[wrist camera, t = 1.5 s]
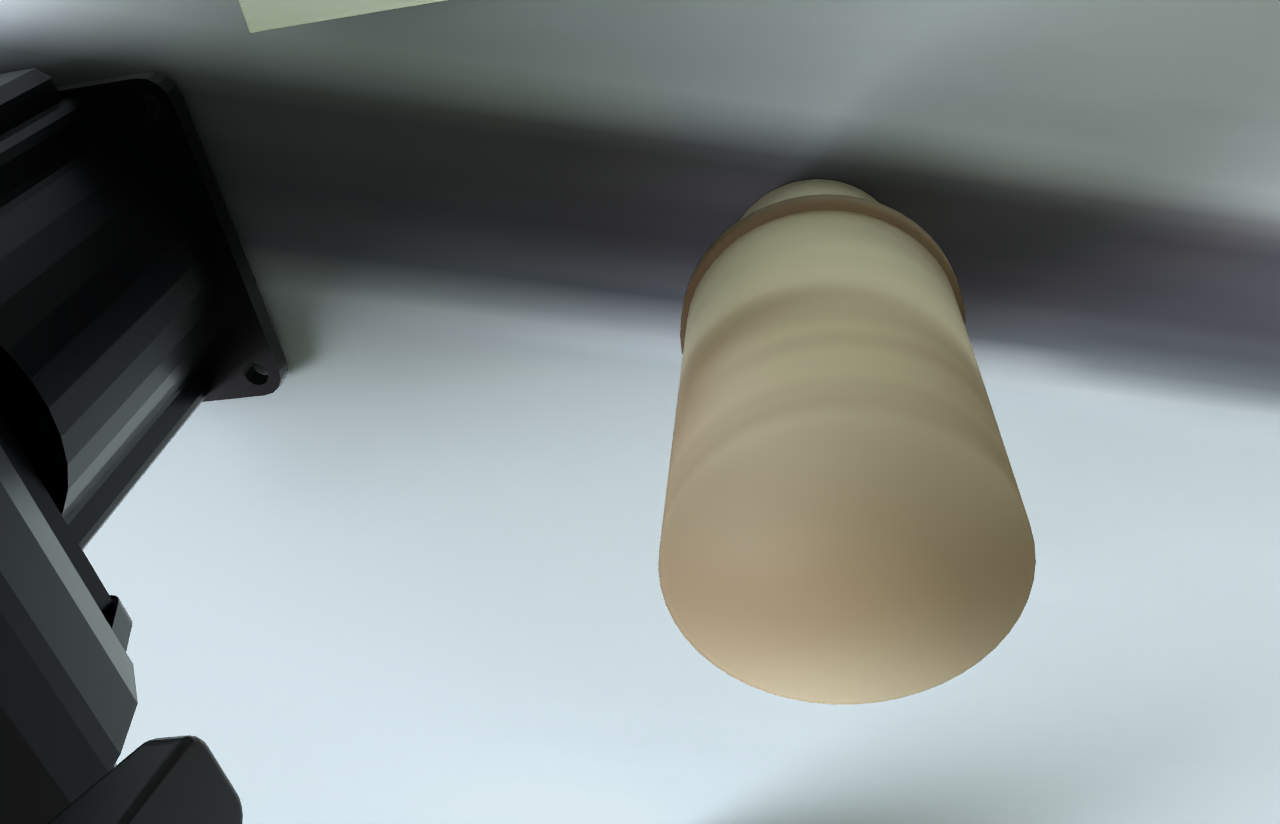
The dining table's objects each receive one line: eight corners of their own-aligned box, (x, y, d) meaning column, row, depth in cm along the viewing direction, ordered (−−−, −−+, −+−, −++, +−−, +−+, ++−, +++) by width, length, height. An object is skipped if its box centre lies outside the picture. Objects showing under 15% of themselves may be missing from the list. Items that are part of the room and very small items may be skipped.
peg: (944, 355, 21) (1040, 701, 14) (707, 379, 22) (681, 718, 15) (936, 123, 19) (1049, 391, 12) (672, 159, 20) (618, 432, 12)
